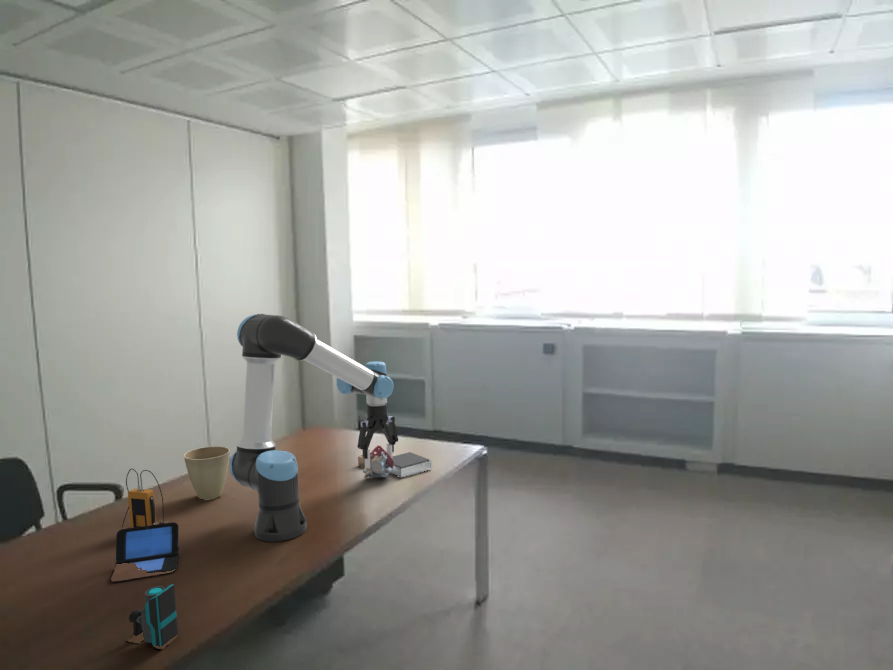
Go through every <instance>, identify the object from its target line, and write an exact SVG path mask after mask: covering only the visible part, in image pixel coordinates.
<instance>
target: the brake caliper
mask: <svg viewBox="0 0 893 670" xmlns="http://www.w3.org/2000/svg"><path fill="white" fill-rule="evenodd" d="M371 455H372V456H371ZM374 457H375V458H374ZM371 458H374V459H373V460H370V468H368V467H366V466H365V467H363V471H362V473H364V476H363V477H362V478H363V480H366V479H367V478H388V477H389V475H390V474H391V473H390V472H391V471H392V469H393V465H394V460H393V459H392V458H391V457H390V456H389V455H388V453H387V450H385V449H384V448H383V447H382V446H381V445H377V446H375V447H374V449H373V450H372V451H370V459H371ZM385 460H386V463H385ZM364 464H365V459H364Z"/></svg>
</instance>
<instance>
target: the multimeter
mask: <svg viewBox="0 0 893 670" xmlns="http://www.w3.org/2000/svg"><path fill="white" fill-rule="evenodd" d="M131 471H134V472H135V473H136V475H137V488H133V489H131V490H129V487H128V476H129V473H130V472H131ZM144 472H148V473H150V474H151V475H152V476H153V477H154V479H155V481H156V483H157V486H158V489H159V492H160V496H161V501H162V504H164V498H163V493H162V491H161V487H160V483H159V482H158V480H157V478H156V476H155V474H154V473H153V472H152V471H150V470H148V469H143V470H142V471H141V472H140V475H139V473H138V472H137V470H135V468H134V469H133V468H130V469H129V470H128V472H127V473H126V477H125V487H126V490H127V500H128V507H127V510H126V512H125V516H124V518H123V522H122V524H121V528H122V527H123V528H124V525H125V524H124V523H125V520H126V517H127V514H128V512H129V520H130V527H131V528H135V527H142V526H150V525H156V523H157V517H156V514H157V513H156V504H155V503H156V502H155V492H154V490H153V489H145V488H144V486H143V482H142V481H143V480H142V474H143V473H144ZM139 476H140V477H139ZM139 478H140V480H139ZM164 510H165V509H164V506H162V522H163V523H162V524H165V521H164Z"/></svg>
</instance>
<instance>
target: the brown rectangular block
mask: <svg viewBox="0 0 893 670" xmlns="http://www.w3.org/2000/svg"><path fill="white" fill-rule="evenodd" d="M371 456H372V455H371ZM374 458H375V457H374ZM374 458H371V459H370V460H373V459H374ZM357 464H358V465H359V466H358V465H357V466H358V467H361V466H363V467H362V468H365V464H364V458H363V454H361V455H358V456H357Z"/></svg>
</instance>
